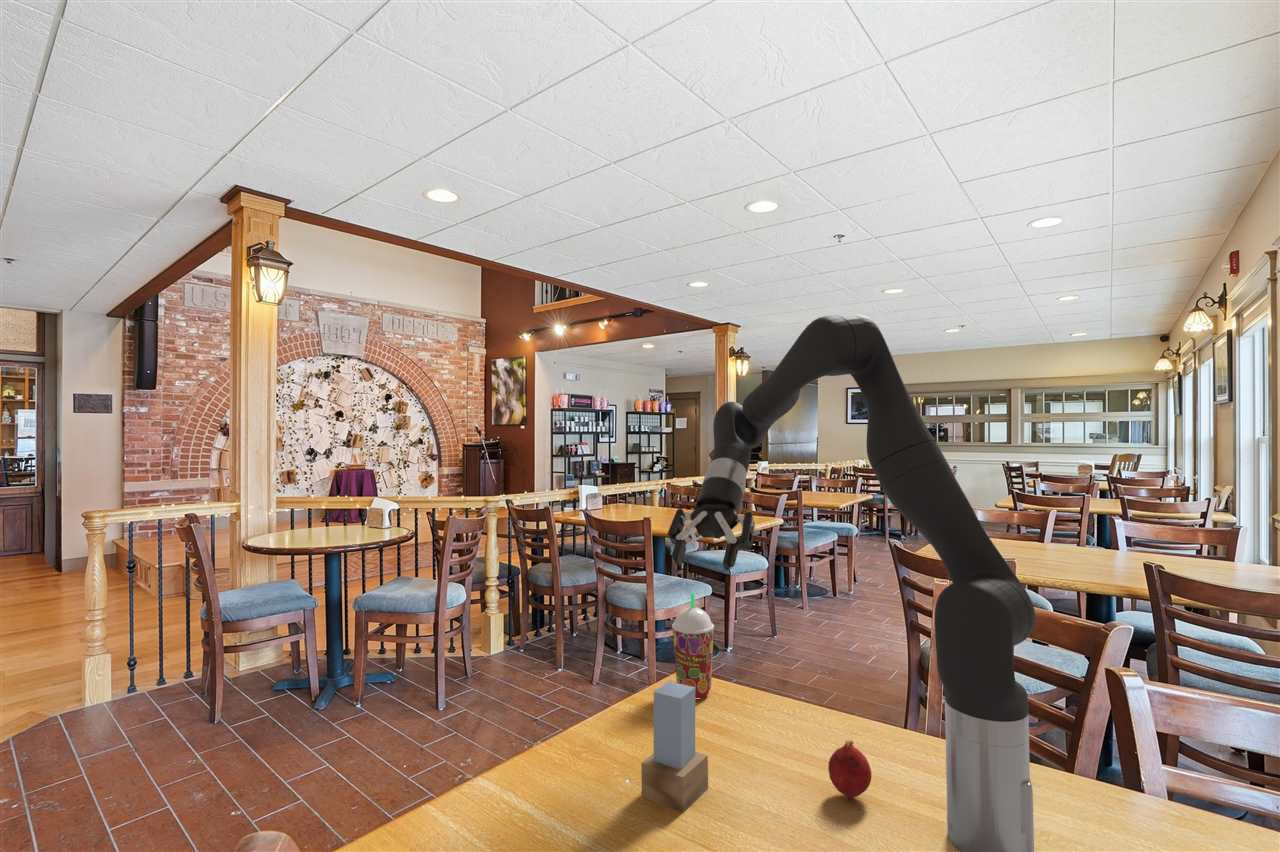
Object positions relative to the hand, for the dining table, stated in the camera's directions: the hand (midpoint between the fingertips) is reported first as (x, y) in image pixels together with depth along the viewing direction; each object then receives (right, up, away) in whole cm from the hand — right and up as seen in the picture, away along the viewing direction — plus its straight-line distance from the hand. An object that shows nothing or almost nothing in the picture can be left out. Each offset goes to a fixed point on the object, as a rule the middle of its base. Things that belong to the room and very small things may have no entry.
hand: (701, 565), depth 101 cm
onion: (+20, -30, -13) cm, 39 cm away
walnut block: (-5, -31, -11) cm, 33 cm away
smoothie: (+1, -31, +23) cm, 39 cm away
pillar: (-5, -26, -11) cm, 28 cm away
